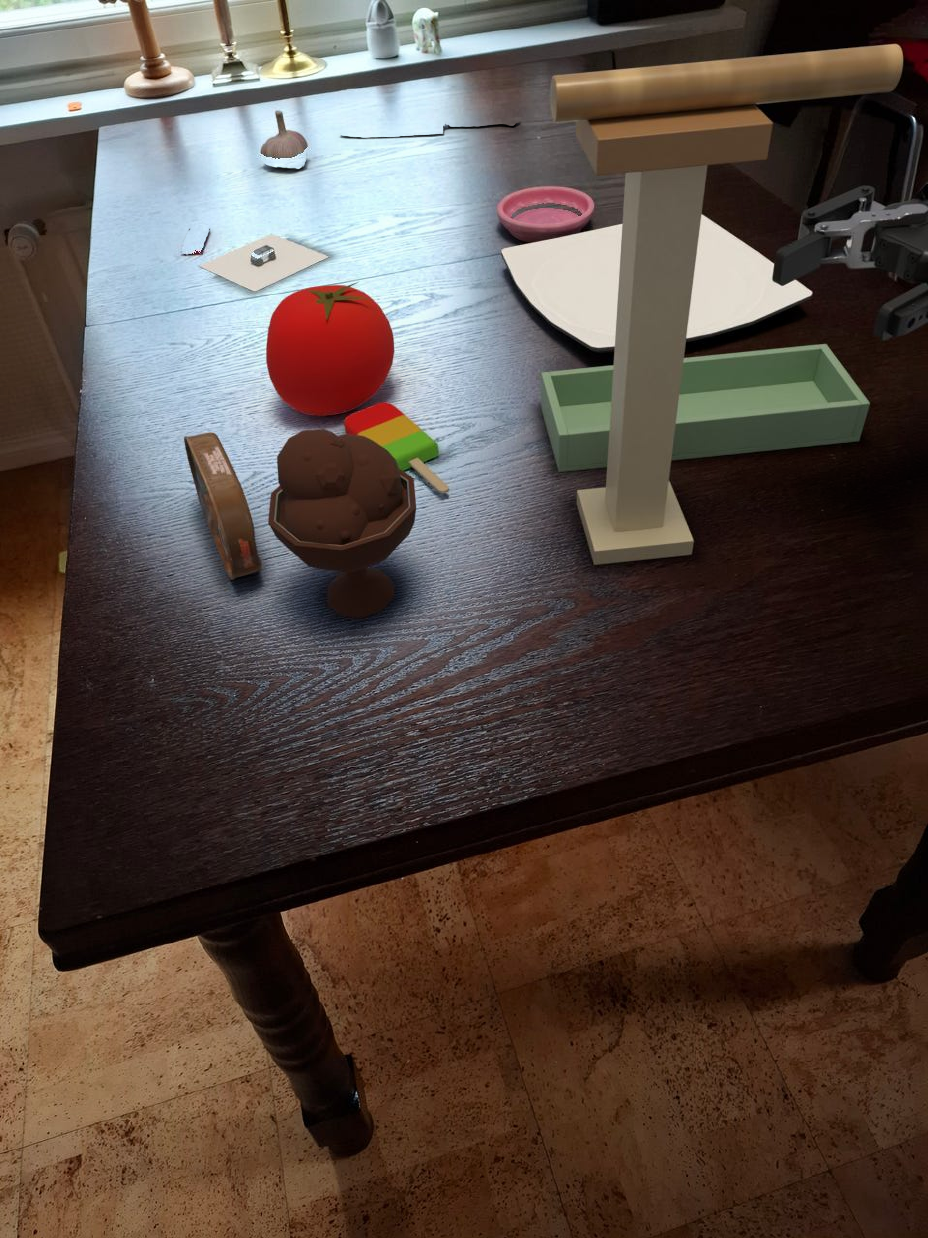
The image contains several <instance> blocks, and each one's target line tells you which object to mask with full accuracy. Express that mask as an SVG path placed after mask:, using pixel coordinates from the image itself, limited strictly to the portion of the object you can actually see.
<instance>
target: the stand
mask: <svg viewBox="0 0 928 1238" xmlns="http://www.w3.org/2000/svg"><path fill="white" fill-rule="evenodd" d="M773 126H774V122H773V121H772V120H771V119H770V118H769V117H768V116H767V115H766V114H765V113H764V112H763V111H762V110H761V109H759V107H758V106H757V104H753V105H742V106H731V107H721V108H710V109H699V110H689V111H678V112H667V113H657V114H646V115H635V116H624V117H614V118H603V119H592V120H582V121H575V136H576V139H577V140H578V142H579V144H580V146H581V148H582V151H583V153H584V154H585V157H586V158H587V160H588V163H589V164H590V166H591V167H592V169H593V171H594V173H595V175H596V177H600V176H610V175H612V176H613V175H619V174H620V175H621V174H625V176H624V177H625V178H624V195H623V209H622V210H623V211H622V223H621V224H622V240H621V255H620V271H619V287H618V303H617V319H616V335H615V351H614V352H613V353H614V354H613V365H614V367H613V383H612V398H611V414H610V430H609V446H608V462H607V467H606V480H605V487H596V488H585V489H577V490H576V506H577V507H576V508H577V510H578V513H579V518H580V521H581V524H582V528H583V531H584V535H585V538H586V542H587V545H588V549H589V553H590V556H591V559H592V563H593V565H594V566H597V565H607V564H615V563H624V562H625V563H626V562H635V561H643V560H653V559H662V558H670V557H671V558H673V557H682V556H692V555H693V549H694V543H695V540H694V537H693V535H692V533H691V530H690V528H689V525H688V523H687V520H686V518H685V515H684V513H683V511H682V509H681V506H680V504H679V501H678V499H677V495H676V494H675V491H674V489H673V486H672V484H671V482H670V473H671V466H672V461H671V458H672V450H673V442H674V434H675V425H676V417H677V409H678V401H679V393H680V385H681V377H682V369H683V360H684V358H685V352H686V336H687V328H688V320H689V312H690V304H691V295H692V287H693V279H694V271H695V263H696V255H697V247H698V239H699V230H700V222H701V214H702V215H703V205H704V196H705V190H706V181H707V174H708V173H707V172H708V166H715V165H724V164H735V163H736V164H737V163H745V162H755V161H765V160H768V155H769V151H770V150H769V149H770V143H771V137H772V131H773Z"/></svg>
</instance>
